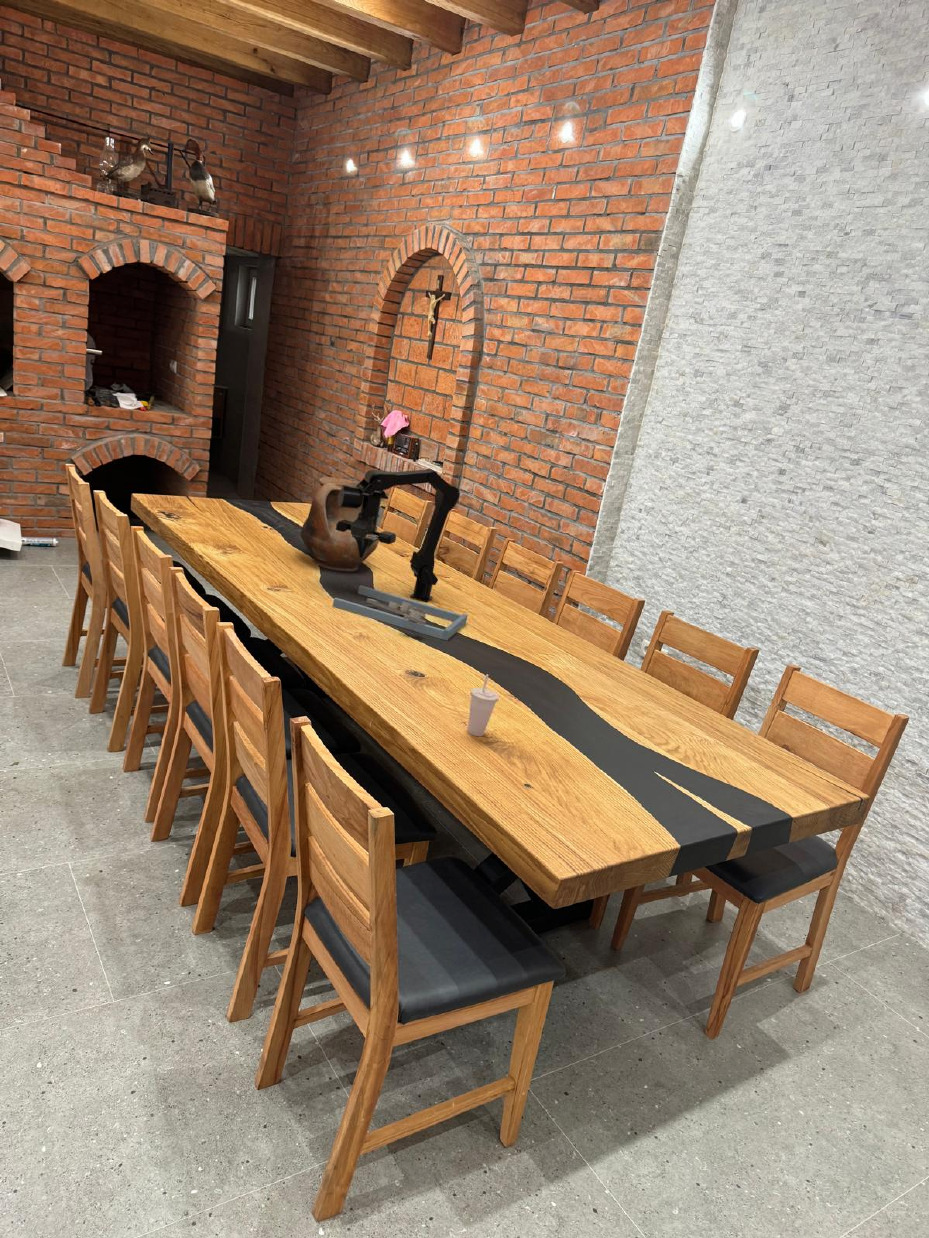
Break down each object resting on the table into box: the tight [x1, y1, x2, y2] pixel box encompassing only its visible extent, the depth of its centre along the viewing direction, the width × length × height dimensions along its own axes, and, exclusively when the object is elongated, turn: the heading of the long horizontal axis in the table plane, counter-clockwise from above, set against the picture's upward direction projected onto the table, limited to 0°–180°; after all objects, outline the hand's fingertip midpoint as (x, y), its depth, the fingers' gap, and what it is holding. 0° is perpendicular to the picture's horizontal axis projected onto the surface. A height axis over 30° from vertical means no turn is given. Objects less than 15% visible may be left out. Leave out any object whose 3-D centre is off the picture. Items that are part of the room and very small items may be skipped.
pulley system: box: [365, 597, 427, 625], centre depth 247 cm, size 27×5×15 cm
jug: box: [300, 476, 380, 572], centre depth 290 cm, size 32×28×30 cm
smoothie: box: [467, 673, 500, 737], centre depth 183 cm, size 6×6×14 cm
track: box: [332, 584, 469, 642], centre depth 254 cm, size 21×37×3 cm, turn 74°
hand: (361, 557), depth 263 cm, fingers closed
